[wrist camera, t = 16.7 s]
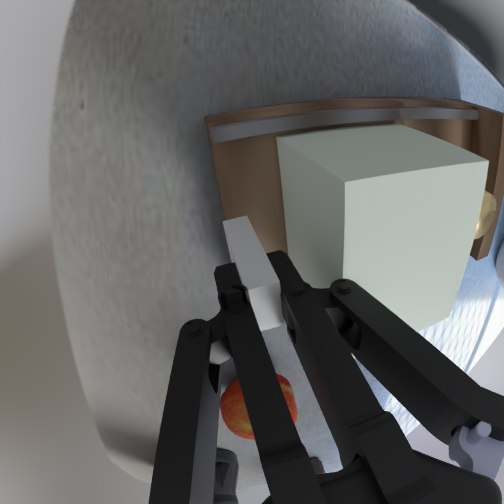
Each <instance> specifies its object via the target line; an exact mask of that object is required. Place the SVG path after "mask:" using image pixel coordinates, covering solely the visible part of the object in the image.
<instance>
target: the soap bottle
mask: <svg viewBox="0 0 504 504" xmlns="http://www.w3.org/2000/svg"><path fill="white" fill-rule="evenodd" d="M496 274H497V277H498V279H499V282H500V283H501V285H502V286H503V288H504V240H503V242H502V243H501V246H500V248H499V251H498V254H497V259H496Z"/></svg>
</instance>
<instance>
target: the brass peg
mask: <svg viewBox="0 0 504 504" xmlns="http://www.w3.org/2000/svg"><path fill="white" fill-rule="evenodd" d="M495 213H496V199H495V197H494V196H493V195H492V194H490V193H489V192H487V191H484V196H483V201H482V206H481V211H480V216H479V220H478V225H477V229H476V233H475V237H474V239H478V238H480V237H481V236H483V235H484V234H485V233H486V232H487V230H488V229H489V227H490V226H491V224H492V222H493V220H494V217H495Z"/></svg>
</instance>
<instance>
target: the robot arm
mask: <svg viewBox="0 0 504 504" xmlns="http://www.w3.org/2000/svg"><path fill="white" fill-rule="evenodd" d="M223 226H224V231H225V235H226V240H227V244H228V249H229V253H230V258H231V261H232V263H229V264H225V265H221V266H217V267H216V269H215V272H214V277H215V281H216V285H217V290H218V300H219V303H220V307H221V309H220V311H219V313H218V314H217V315H216V316H215V317H214V318H212V319H211V320H209V321H205V320H203V319H193V320H190V321H188V322H186V323H185V324H184V325H183V326H182V328H181V330H180V333H179V338H178V342H177V347H176V351H175V356H174V361H173V366H172V370H171V375H170V380H169V385H168V390H167V395H166V401H165V406H164V411H163V417H162V422H161V428H160V433H159V439H158V445H157V451H156V457H155V463H154V470H153V476H152V483H151V490H150V497H149V504H238V500H237V495H236V488H237V479H238V470H239V464H238V460H237V456H236V454H234V453H233V452H230V451H227V450H222V449H216V448H217V433H218V420H219V407H220V394H221V381H222V369H223V362H225V361H226V360H228V359H230V358H232V357H233V359H234V363H235V367H236V371H237V375H238V379H239V383H240V386H241V390H242V394H243V398H244V401H245V405H246V409H247V412H248V416H249V420H250V423H251V427H252V430H253V434H254V438H255V441H256V445H257V448H258V451H259V455H260V461H261V464H262V468H263V471H264V475H265V478H266V481H267V484H268V488H269V491H270V494H271V495H270V496H269V497H268V498H266V500H265V501H264V502H263V503H262V504H502V495H501V491H500V488H499V486H498V485H497V484H496V482H495V481H494V480H495V477H496V475H497V472H498V470H499V467H500V465H501V462H502V459H503V456H504V396H502V395H499V394H497V393H494V392H492V391H490V390H487V389H485V388H483V387H480V386H479V385H478V384H477V383H476V382H475V381H474V380H472V379H471V378H470V377H469V376H468V375H467V374H466V373H465V372H463V371H462V370H461V369H460V368H459V367H458V366H457V365H455V364H454V363H453V362H452V361H451V360H450V359H448V358H447V357H446V356H445V355H444V354H443V353H441V352H440V351H439V350H438V349H437V348H436V347H434V346H433V345H432V344H431V343H430V342H428V341H427V340H426V339H425V338H424V337H422V336H421V335H420V334H419V333H418V332H416V331H415V330H414V329H413V328H412V327H410V326H409V325H408V324H407V323H406V322H404V321H403V320H402V319H401V318H399V317H398V316H397V315H396V314H394V313H393V312H392V311H391V310H390V309H388V308H387V307H386V306H385V305H383V304H382V303H381V302H380V301H378V300H377V299H376V298H375V297H373V296H372V295H371V294H370V293H368V292H367V291H366V290H365V289H363V288H362V287H361V286H359V285H358V284H357V283H356V282H354V281H352V280H350V279H338V280H335V281H334V282H332V283H331V285H330V288H313V287H312V286H311V285H310V284H309V283H306V282H304V281H303V279H302V278H301V276H300V274H299V273H298V271H297V269H296V268H295V266H294V264H293V263H292V261H291V259H290V258H289V256H288V254H287V253H285V252H283V251H282V250H278V251H274V252H270V253H265V251H264V249H263V247H262V245H261V243H260V241H259V239H258V237H257V235H256V233H255V231H254V229H253V227H252V225H251V223H250V221H249V219H248V217H247V216H242V217H238V218H234V219H230V220H226V221H223ZM284 319H285V322H286V324H287V332H288V341H289V342H291V341H292V343H293V346H294V348H295V350H296V353H297V355H298V357H299V360H300V362H301V364H302V367H303V369H304V371H305V373H306V376H307V378H308V380H309V383H310V385H311V387H312V390H313V392H314V394H315V397H316V399H317V401H318V403H319V406H320V408H321V410H322V413H323V415H324V417H325V420H326V422H327V424H328V427H329V429H330V431H331V434H332V436H333V438H334V440H335V443H336V445H337V447H338V450H339V454H340V460H341V463H342V466H343V469H342V470H340V471H338V472H332V473H324V474H315V471H314V469H313V466H312V464H311V461H310V459H309V456H308V453H307V451H306V449H305V447H304V445H303V444H302V442H301V440H300V438H299V435H298V432H297V430H296V427H295V424H294V422H293V419H292V416H291V413H290V411H289V408H288V405H287V403H286V400H285V397H284V394H283V392H282V389H281V386H280V383H279V381H278V378H277V375H276V372H275V370H274V367H273V364H272V361H271V359H270V356H269V353H268V350H267V347H266V345H265V342H264V339H263V336H262V333H261V331H263V330H267V329H271V328H274V327H278V326H281V325H285V324H284ZM352 355H353V356H354V357H355V358H356V359H357V360H358V361H359V362H360V363H361V364H362V365H363V366H364V367H365V368H366V369H367V370H368V371H369V372H370V373H371V374H372V375H373V376H374V377H375V378H376V379H377V380H378V381H379V382H380V383H381V384H382V385H383V386H384V387H385V388H386V389H387V390H388V391H389V392H390V393H391V394H392V395H393V396H394V397H395V398H396V399H397V400H398V401H399V402H400V403H401V404H402V405H403V406H404V407H405V408H406V409H407V410H408V411H409V412H410V413H411V414H412V415H413V416H414V417H415V418H416V419H417V420H418V421H419V422H420V423H421V424H422V425H423V426H424V427H425V428H426V429H427V430H428V431H429V432H430V433H431V434H432V435H433V436H435V437H436V438H437V439H439V440H440V441H442V442H443V443H445V444H447V445H449V458H450V459H451V460H453V461H456V462H457V463H458V464H459V465H460V467H461V468H460V467H457V466H454V465H452V464H449V463H446V462H444V461H441V460H438V459H436V458H433V457H431V456H428V455H426V454H423V453H421V452H418V451H416V450H413V449H412V448H411V446H410V444H409V442H408V440H407V439H406V437H405V435H404V433H403V431H402V430H401V428H400V426H399V424H398V422H397V420H396V419H395V417H394V416H393V415H392V414H391V413H390V412H388V411H384V410H383V409H382V407H381V406H380V404H379V402H378V400H377V398H376V397H375V395H374V393H373V391H372V389H371V388H370V386H369V384H368V382H367V380H366V379H365V377H364V375H363V373H362V372H361V370H360V368H359V366H358V365H357V363H356V361H355V359H354V358H353V356H352Z"/></svg>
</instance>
